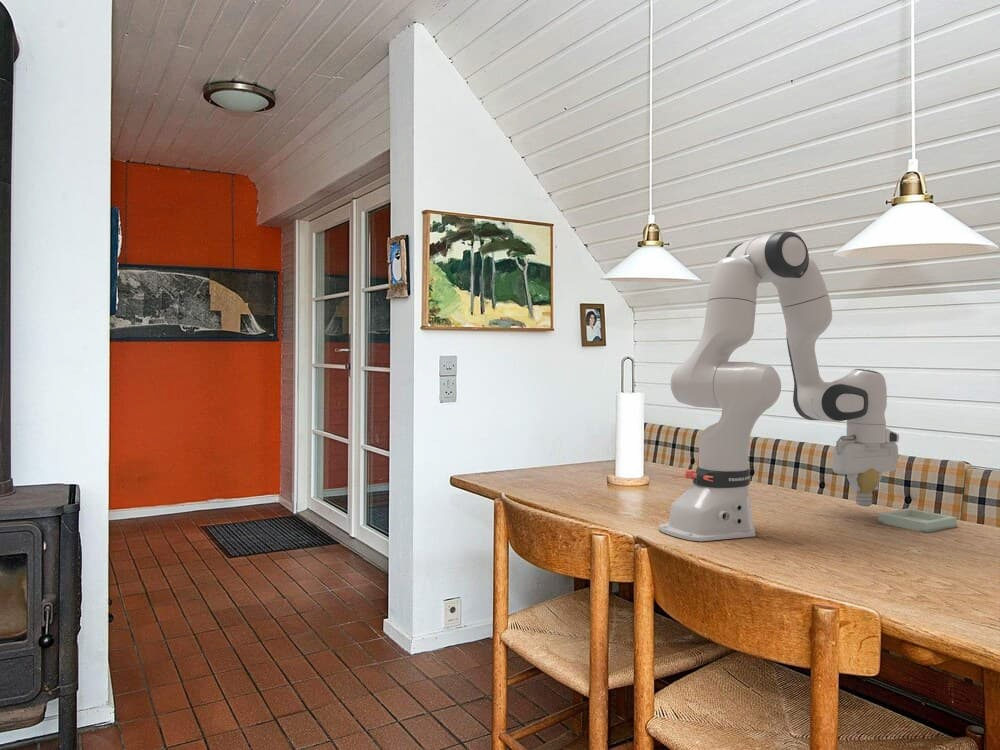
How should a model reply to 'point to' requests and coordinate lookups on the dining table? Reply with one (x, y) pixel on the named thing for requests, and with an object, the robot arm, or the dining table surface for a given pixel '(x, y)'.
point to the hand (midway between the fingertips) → (864, 490)
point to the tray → (917, 520)
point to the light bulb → (866, 487)
